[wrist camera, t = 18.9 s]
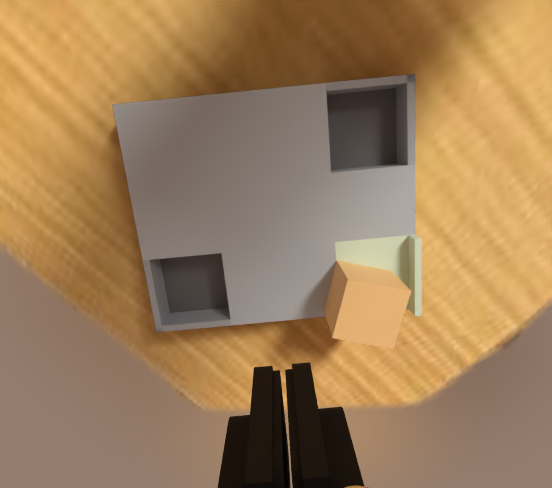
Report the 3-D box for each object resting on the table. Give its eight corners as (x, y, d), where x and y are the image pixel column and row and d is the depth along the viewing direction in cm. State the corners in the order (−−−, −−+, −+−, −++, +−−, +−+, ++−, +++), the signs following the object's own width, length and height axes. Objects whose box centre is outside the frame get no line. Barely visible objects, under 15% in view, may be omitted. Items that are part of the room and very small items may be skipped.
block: (391, 270, 33) (411, 291, 28) (376, 320, 34) (393, 349, 30) (336, 260, 33) (347, 279, 28) (323, 311, 34) (332, 338, 29)
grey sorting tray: (401, 80, 32) (422, 69, 28) (404, 295, 37) (421, 315, 33) (126, 108, 32) (104, 102, 28) (165, 318, 37) (151, 340, 33)
